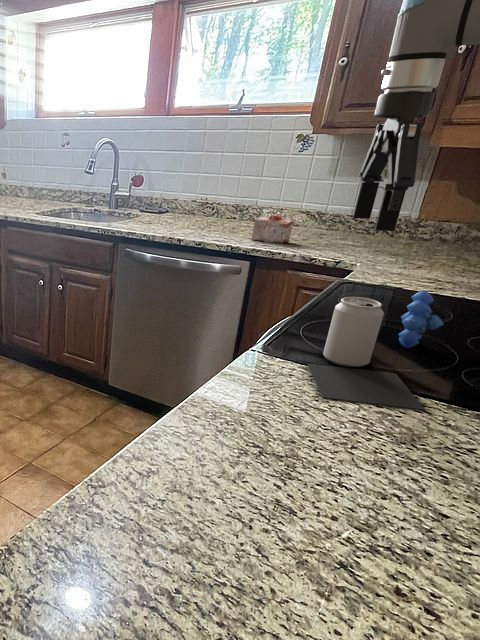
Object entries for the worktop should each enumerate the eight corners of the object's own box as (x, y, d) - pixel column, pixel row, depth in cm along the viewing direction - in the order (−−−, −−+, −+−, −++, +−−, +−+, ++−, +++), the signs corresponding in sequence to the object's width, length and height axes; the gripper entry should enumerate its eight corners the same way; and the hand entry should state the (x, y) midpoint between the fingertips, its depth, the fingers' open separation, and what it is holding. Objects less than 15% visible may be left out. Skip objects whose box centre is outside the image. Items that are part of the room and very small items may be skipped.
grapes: (428, 362, 98) (450, 300, 93) (385, 352, 102) (404, 293, 98) (438, 345, 106) (458, 287, 101) (397, 336, 110) (415, 281, 105)
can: (360, 373, 94) (379, 310, 89) (315, 361, 99) (331, 300, 94) (374, 362, 98) (392, 300, 94) (330, 350, 104) (345, 292, 99)
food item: (293, 242, 201) (298, 215, 197) (284, 245, 196) (289, 218, 192) (257, 237, 210) (262, 212, 206) (248, 240, 205) (252, 214, 202)
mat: (395, 375, 93) (395, 373, 93) (424, 412, 81) (425, 409, 81) (306, 365, 98) (307, 363, 97) (322, 399, 85) (322, 397, 85)
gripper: (359, 96, 97) (331, 213, 106) (407, 87, 76) (368, 235, 84) (406, 94, 95) (374, 214, 104) (470, 85, 73) (423, 237, 82)
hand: (371, 224), depth 94 cm, fingers open, 13 cm apart
